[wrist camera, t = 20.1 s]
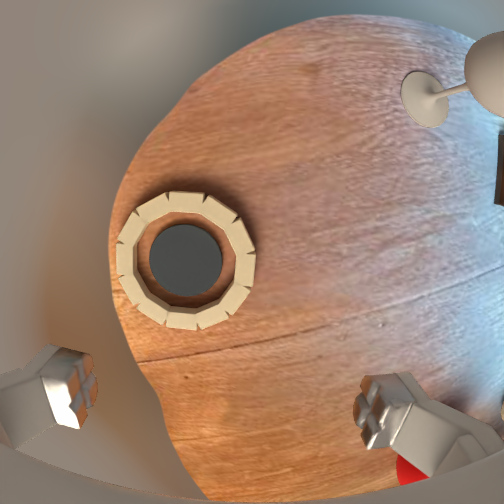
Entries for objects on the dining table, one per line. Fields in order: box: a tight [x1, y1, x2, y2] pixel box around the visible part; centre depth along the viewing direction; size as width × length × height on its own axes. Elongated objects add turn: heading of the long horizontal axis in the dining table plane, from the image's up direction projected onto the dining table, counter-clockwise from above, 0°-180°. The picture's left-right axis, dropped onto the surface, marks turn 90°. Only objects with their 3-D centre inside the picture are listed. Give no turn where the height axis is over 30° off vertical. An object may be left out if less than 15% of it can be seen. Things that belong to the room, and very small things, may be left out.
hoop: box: [116, 191, 256, 330], centre depth 33 cm, size 15×15×2 cm
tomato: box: [396, 454, 430, 485], centre depth 39 cm, size 12×14×12 cm
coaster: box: [149, 224, 222, 296], centre depth 34 cm, size 8×8×1 cm
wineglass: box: [401, 31, 504, 128], centre depth 20 cm, size 8×8×21 cm
